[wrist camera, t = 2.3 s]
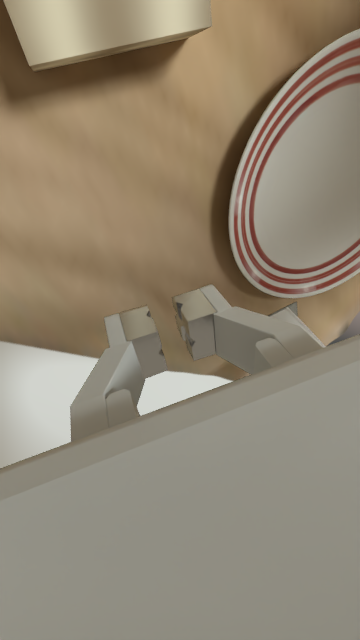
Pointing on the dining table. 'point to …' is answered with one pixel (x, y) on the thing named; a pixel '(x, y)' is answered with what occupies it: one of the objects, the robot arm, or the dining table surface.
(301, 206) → the dinner plate
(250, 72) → the dining table surface
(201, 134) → the dining table surface
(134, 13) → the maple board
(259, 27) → the dining table surface
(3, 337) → the dining table surface
